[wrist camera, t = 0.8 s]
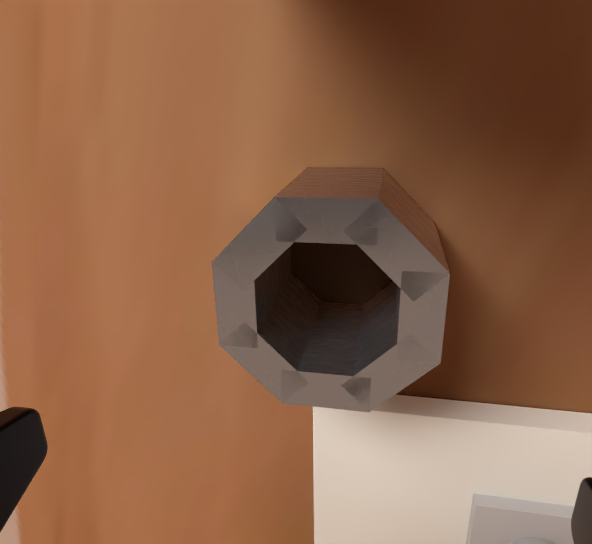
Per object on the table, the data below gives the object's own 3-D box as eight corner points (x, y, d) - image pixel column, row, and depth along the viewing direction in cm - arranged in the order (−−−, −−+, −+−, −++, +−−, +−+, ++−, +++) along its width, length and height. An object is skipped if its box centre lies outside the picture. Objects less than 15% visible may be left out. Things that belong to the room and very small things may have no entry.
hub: (439, 168, 16) (457, 200, 11) (424, 336, 18) (434, 419, 14) (256, 167, 17) (205, 195, 12) (264, 324, 19) (224, 397, 15)
